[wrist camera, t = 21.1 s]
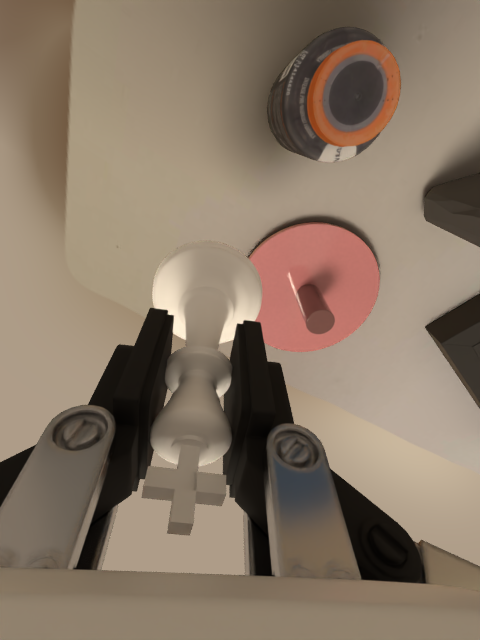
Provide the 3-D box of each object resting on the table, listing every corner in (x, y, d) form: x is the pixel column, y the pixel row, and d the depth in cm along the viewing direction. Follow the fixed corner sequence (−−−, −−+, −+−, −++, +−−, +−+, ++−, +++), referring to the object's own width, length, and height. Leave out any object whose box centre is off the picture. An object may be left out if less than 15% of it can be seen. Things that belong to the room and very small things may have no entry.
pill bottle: (329, 160, 26) (388, 182, 16) (258, 143, 25) (276, 155, 16) (358, 69, 23) (452, 29, 13) (278, 47, 22) (316, -14, 13)
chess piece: (159, 228, 13) (30, 422, 5) (275, 254, 14) (353, 464, 5) (148, 328, 16) (50, 576, 7) (247, 345, 16) (267, 590, 8)
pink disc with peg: (228, 337, 35) (227, 376, 29) (250, 209, 28) (254, 228, 22) (348, 351, 36) (368, 390, 31) (397, 232, 29) (434, 256, 24)
